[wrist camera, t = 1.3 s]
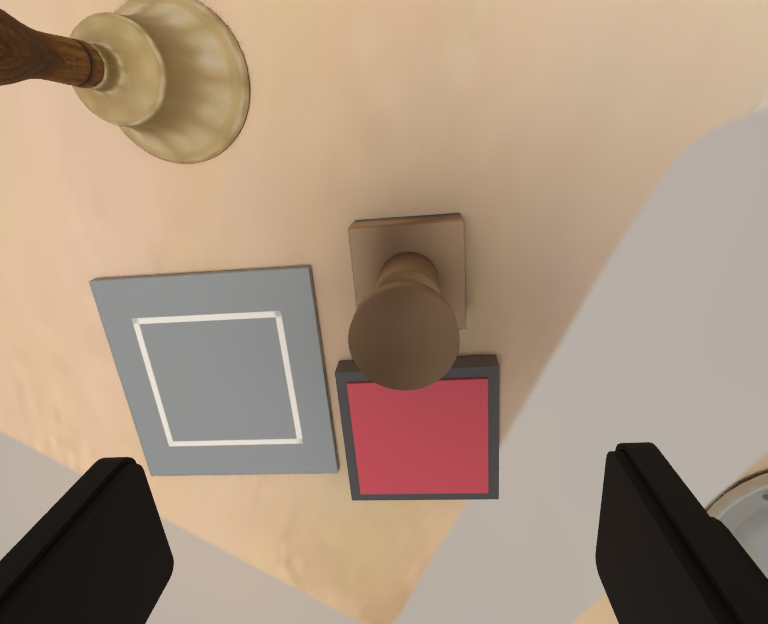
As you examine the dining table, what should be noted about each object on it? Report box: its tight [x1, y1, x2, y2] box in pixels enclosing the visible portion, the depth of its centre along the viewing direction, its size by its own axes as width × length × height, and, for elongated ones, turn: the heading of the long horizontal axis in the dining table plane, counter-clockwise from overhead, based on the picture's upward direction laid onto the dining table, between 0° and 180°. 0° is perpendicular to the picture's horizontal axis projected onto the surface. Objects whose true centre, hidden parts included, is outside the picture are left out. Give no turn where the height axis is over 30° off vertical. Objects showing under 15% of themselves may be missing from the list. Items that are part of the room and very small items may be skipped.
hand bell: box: [0, 0, 250, 164], centre depth 17 cm, size 8×8×16 cm
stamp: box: [348, 213, 466, 391], centre depth 22 cm, size 6×6×11 cm
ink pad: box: [335, 355, 499, 500], centre depth 30 cm, size 10×10×2 cm
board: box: [89, 265, 339, 476], centre depth 31 cm, size 14×15×1 cm
